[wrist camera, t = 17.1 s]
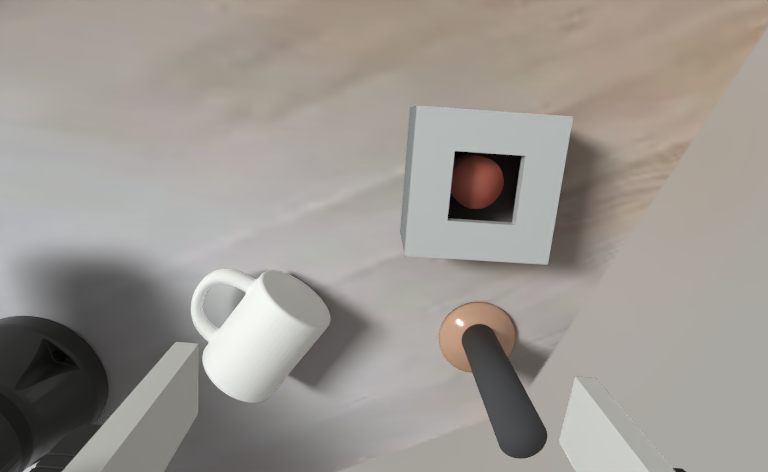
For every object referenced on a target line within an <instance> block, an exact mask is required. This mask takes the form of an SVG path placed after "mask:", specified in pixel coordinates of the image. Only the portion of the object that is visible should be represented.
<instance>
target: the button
mask: <svg viewBox="0 0 768 472" xmlns="http://www.w3.org/2000/svg"><path fill="white" fill-rule="evenodd" d="M503 183H504V180H503V174H502V171H501V169H500V167H499V166H498V165H497V164H496V163H495V162H494V161H493V160H491V159H489V158H487V157H484V156H481V155H479V154H474V153H469V154H464V155H462V156H460V157H458V158H456V159H455V160H454V164H453V173H452V182H451V192H450V194H451V195H452V196H453V197H454V198H455V199H456V200H457V201H458V202H459V203H460V204H461V205H463V206H465V207H467V208H470V209H481V208H485V207H487V206H489V205H491V204H492V203H493V202H494V201H496V199H497V198H498V197H499V195H500V194H501V192H502V189H503Z"/></svg>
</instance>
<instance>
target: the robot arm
mask: <svg viewBox="0 0 768 472" xmlns="http://www.w3.org/2000/svg"><path fill="white" fill-rule="evenodd" d="M107 390H108V388H107V379H106V375H105V372H104V369H103V366H102V364H101V362H100V360H99V359H98V357H97V355H96V354H95V353H94V351H93V350H92V349H91V348H90V346H89V345H88V344H87V343H86V342H85V341H84V340H83V339H81V338H80V337H79V336H78V335H76V334H75V333H74V332H72V331H71V330H69V329H67V328H65V327H64V326H62V325H59V324H57V323H55V322H52V321H49V320H46V319H42V318H37V317H30V316H14V317H8V318H3V319H0V472H23V471H24V470H25V469H26V468H28V467H30V466H32V465H33V464H35V463H37V462H38V463H37V464H36V467H35V468H33V469H32V470H31V471H30V472H164V471H165V470H166V468H167V466H168V464H169V463H170V461H171V459H172V458H173V456H174V454H175V453H176V451H177V449H178V447H179V446H180V444H181V442H182V441H183V439H184V437H185V436H186V434H187V432H188V430H189V429H190V427H191V425H192V424H193V422H194V420H195V419H196V417H197V415H198V398H199V344H197V343H185V342H175V343H174V344H173V345H172V347H171V348H170V349H169V350H168V351H167V352H166V353H165V355H164V356H163V357H162V358H161V359H160V360H159V361H158V363H157V364H156V365H155V366H154V367H153V368H152V369H151V371H150V372H149V373H148V374H147V375H146V376H145V377H144V379H143V380H142V381H141V382H140V383H139V384H138V385H137V387H136V388H135V389H134V390H133V391H132V392H131V393H130V395H129V396H128V397H127V398H126V399H125V400H124V401H123V403H122V404H121V405H120V406H119V407H118V408H117V409H116V410H115V412H114V413H113V414H112V415H111V416H110V417H109V418H108V420H107V421H106V422H105V423H104V424H103V425H92V424H93V423H94V422H95V421H96V420H97V419H98V417H99V416H100V414H101V413H102V411H103V409H104V406H105V403H106V399H107ZM559 443H560V445H561V446H562V448H563V450H564V452H565V453H566V455H567V457H568V459H569V461H570V462H571V464H572V466H573V467H574V469H575V471H576V472H686V471H684V470H683V469H678V468H672V467H671V466H670V465H669V463H668V462H667V461H666V460H665V458H663V456H662V455H661V454H660V453H659V451H658V450H657V449H656V448H655V447H654V446H653V444H652V443H651V442H650V441H649V440H648V438H647V437H646V436H645V435H644V434H643V433H642V431H641V430H640V429H639V428H638V427H637V426H636V424H635V423H634V422H633V421H632V420H631V419H630V417H629V416H628V415H627V414H626V413H625V411H624V410H623V409H622V408H621V407H620V405H619V404H618V403H617V402H616V401H615V400H614V398H613V397H612V396H611V395H610V394H609V393H608V391H607V390H606V389H605V388H604V387H603V385H602V384H601V383H600V382H599V381H598V380H597V379H596V378H590V377H579V376H575V379H574V383H573V387H572V391H571V395H570V399H569V404H568V408H567V412H566V416H565V419H564V424H563V428H562V432H561V436H560V440H559Z"/></svg>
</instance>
